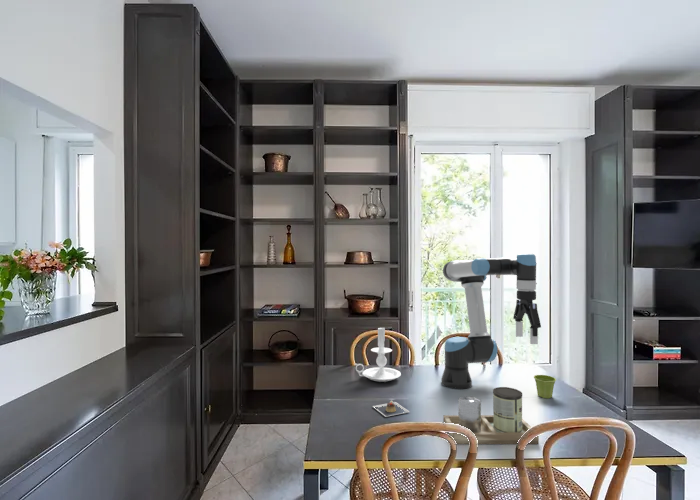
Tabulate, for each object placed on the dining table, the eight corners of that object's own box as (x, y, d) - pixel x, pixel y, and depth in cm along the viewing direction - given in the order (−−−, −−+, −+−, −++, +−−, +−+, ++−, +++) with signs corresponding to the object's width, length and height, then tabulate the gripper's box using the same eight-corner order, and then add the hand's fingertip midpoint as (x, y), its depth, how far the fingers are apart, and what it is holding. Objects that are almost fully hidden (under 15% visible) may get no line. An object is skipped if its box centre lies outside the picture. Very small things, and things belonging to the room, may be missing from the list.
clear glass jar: (456, 424, 150) (456, 396, 150) (476, 424, 151) (476, 396, 151) (462, 434, 142) (462, 404, 142) (483, 434, 143) (483, 404, 143)
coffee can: (492, 421, 153) (492, 385, 153) (521, 425, 150) (521, 388, 150) (493, 433, 143) (493, 394, 143) (523, 437, 140) (523, 398, 140)
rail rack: (443, 424, 154) (443, 415, 154) (518, 423, 155) (518, 415, 155) (454, 444, 138) (454, 434, 138) (538, 444, 139) (538, 434, 139)
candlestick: (352, 373, 218) (352, 323, 218) (396, 372, 220) (396, 322, 220) (356, 386, 197) (356, 331, 197) (404, 385, 199) (404, 330, 199)
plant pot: (558, 400, 178) (558, 381, 178) (536, 399, 180) (536, 380, 180) (552, 393, 187) (552, 375, 187) (531, 392, 189) (531, 374, 189)
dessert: (385, 419, 160) (385, 407, 160) (372, 408, 171) (372, 397, 171) (410, 414, 165) (410, 403, 165) (395, 404, 176) (395, 393, 176)
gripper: (550, 293, 153) (550, 347, 153) (522, 287, 178) (522, 333, 178) (531, 293, 153) (531, 347, 153) (505, 287, 178) (505, 333, 178)
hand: (526, 340), depth 166 cm, fingers open, 13 cm apart
